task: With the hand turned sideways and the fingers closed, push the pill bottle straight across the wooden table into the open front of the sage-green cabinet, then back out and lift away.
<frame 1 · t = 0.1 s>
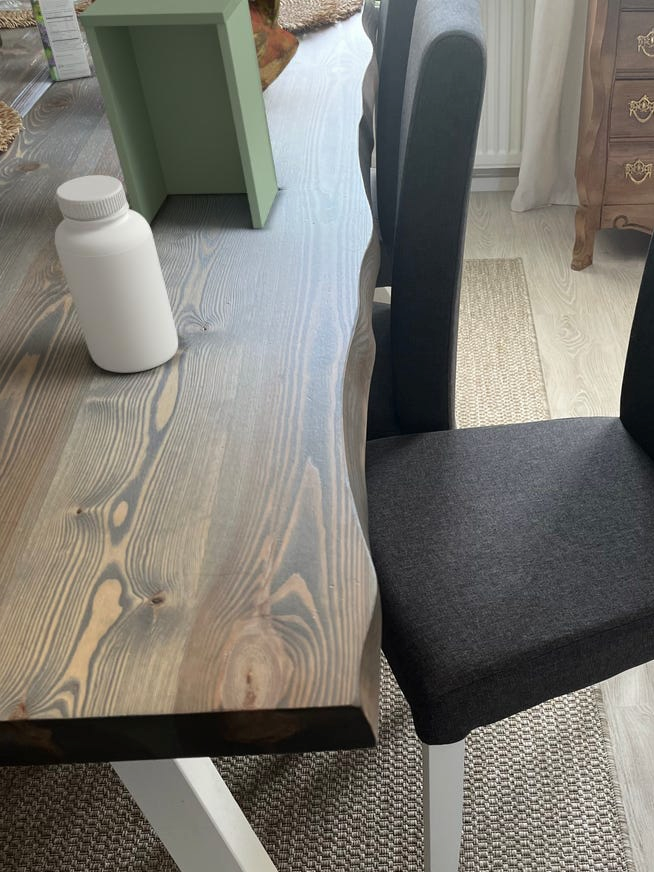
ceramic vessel: (215, 105, 141), on the table
syrup box: (72, 75, 153), on the table
cabinet: (209, 211, 115), on the table
pill bottle: (137, 355, 93), on the table
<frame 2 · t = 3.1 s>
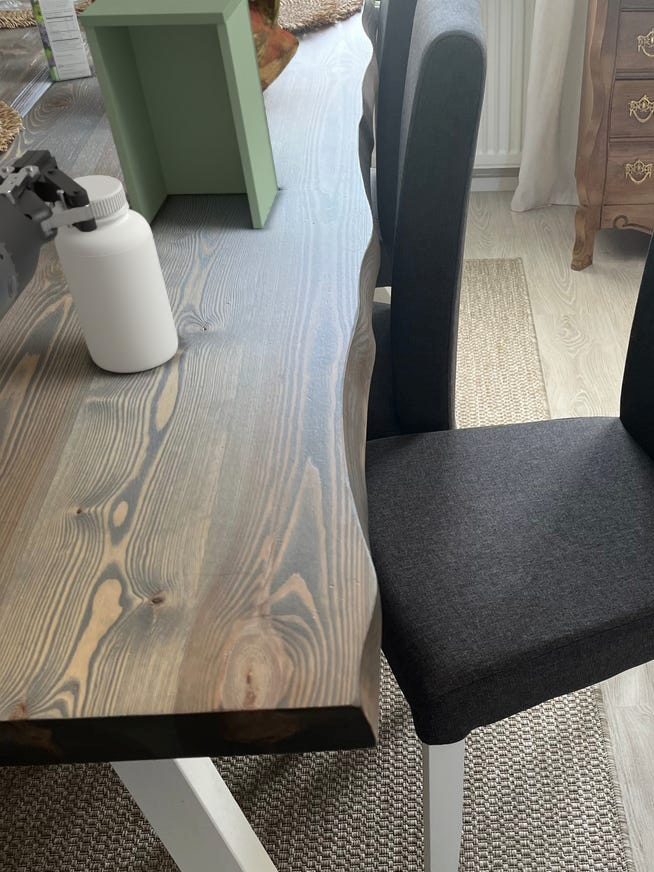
hand: (43, 163, 74), 19 cm above the table, tool horizontal, fingers closed
nothing on the table moved.
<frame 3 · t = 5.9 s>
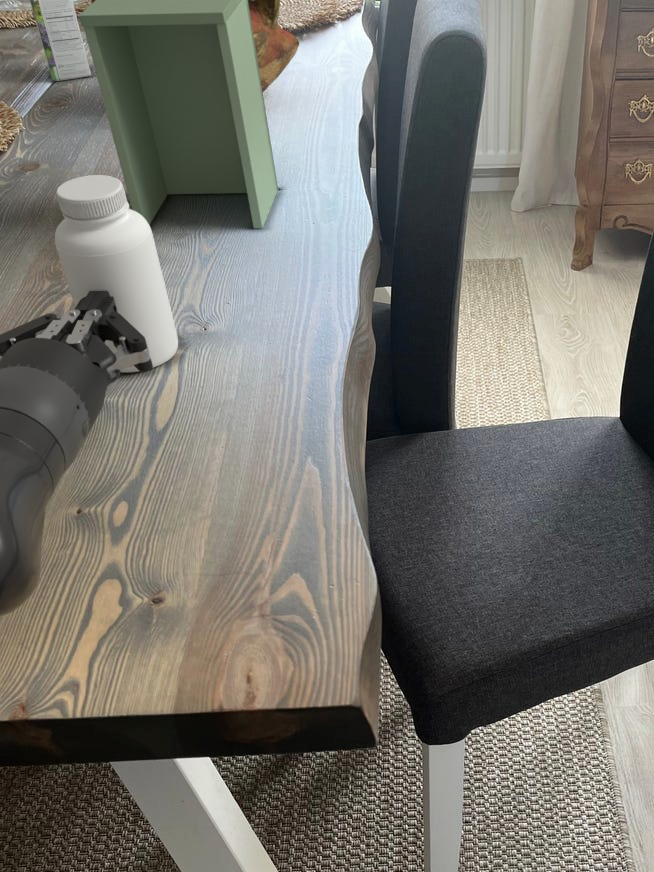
hand: (102, 301, 85), 7 cm above the table, tool horizontal, fingers closed
pill bottle: (137, 355, 93), on the table, touching gripper
everything else where it was.
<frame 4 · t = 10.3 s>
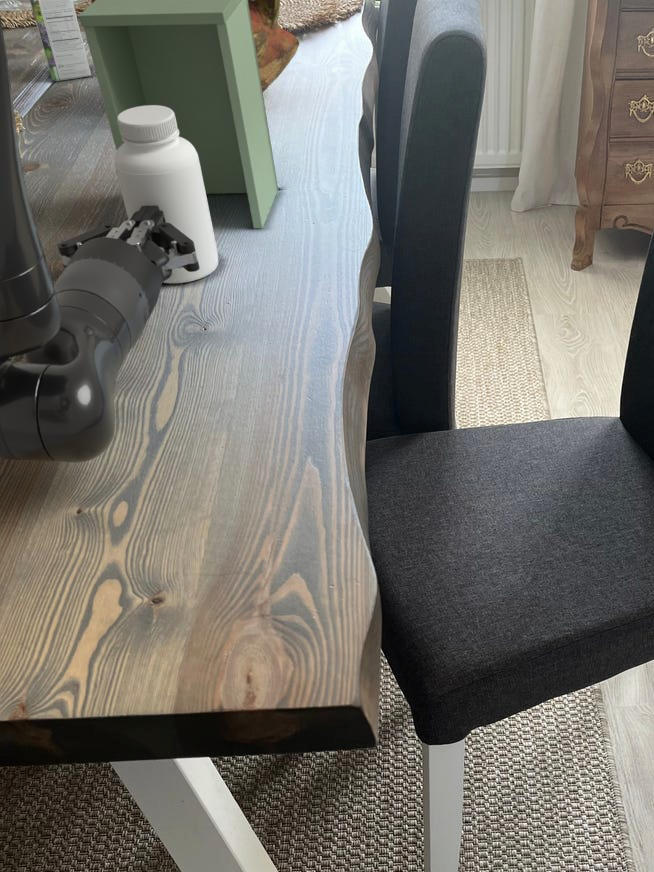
hand: (152, 215, 97), 7 cm above the table, tool horizontal, fingers closed
pill bottle: (182, 270, 105), on the table, touching gripper
everything else where it was.
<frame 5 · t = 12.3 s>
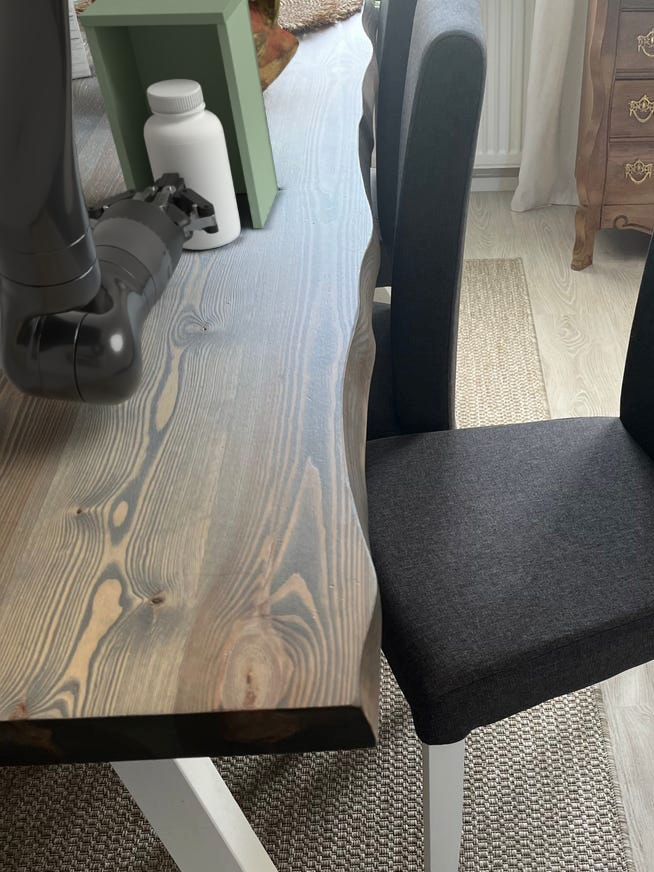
hand: (173, 182, 102), 7 cm above the table, tool horizontal, fingers closed
pill bottle: (206, 238, 110), on the table, touching gripper
everything else where it was.
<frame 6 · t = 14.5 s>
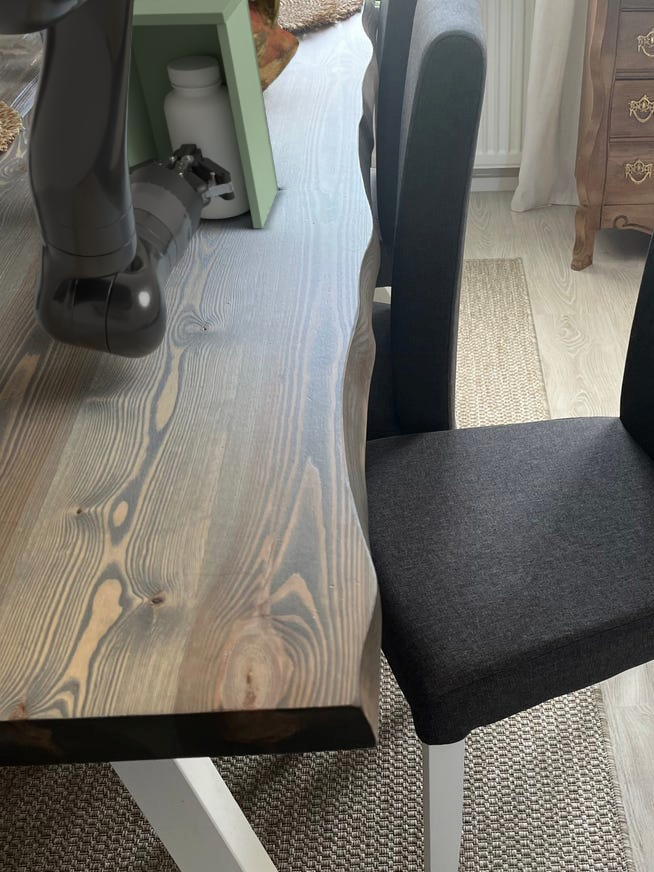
hand: (191, 153, 108), 7 cm above the table, tool horizontal, fingers closed
pill bottle: (221, 208, 116), on the table, touching cabinet, gripper
everything else where it was.
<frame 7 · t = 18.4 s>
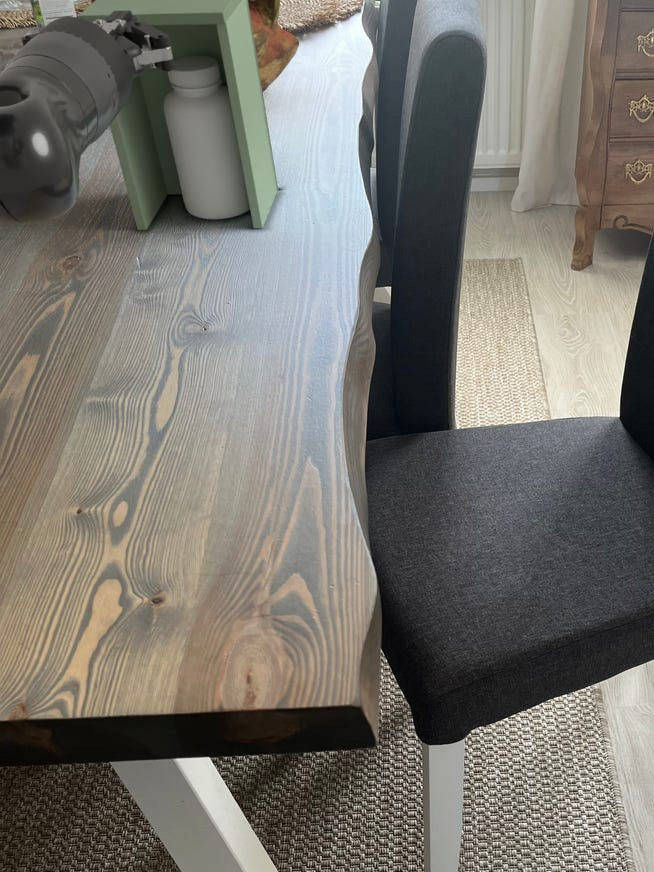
hand: (126, 23, 90), 22 cm above the table, tool horizontal, fingers closed
pill bottle: (221, 208, 116), on the table
everything else where it was.
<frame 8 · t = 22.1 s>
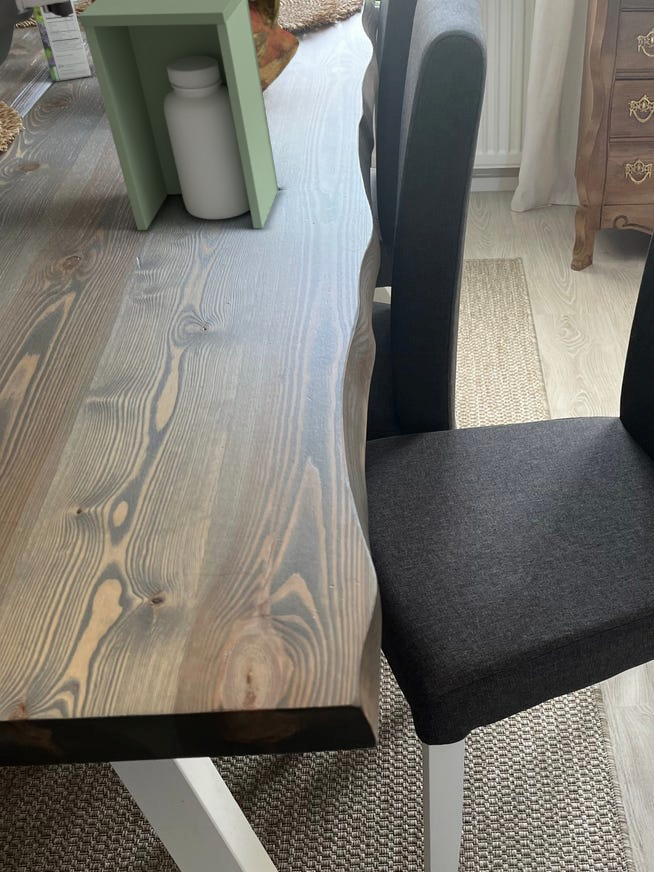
nothing on the table moved.
at the end: pill bottle inside the target area on the cabinet (1.6 cm from its centre), point 0.0 cm above the cabinet's base; pill bottle tilted 0°; the gripper is holding nothing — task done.
